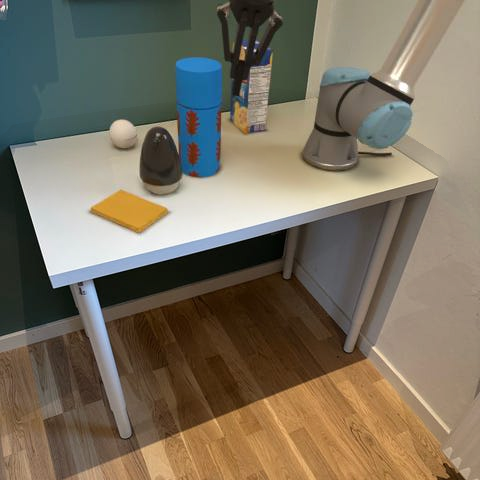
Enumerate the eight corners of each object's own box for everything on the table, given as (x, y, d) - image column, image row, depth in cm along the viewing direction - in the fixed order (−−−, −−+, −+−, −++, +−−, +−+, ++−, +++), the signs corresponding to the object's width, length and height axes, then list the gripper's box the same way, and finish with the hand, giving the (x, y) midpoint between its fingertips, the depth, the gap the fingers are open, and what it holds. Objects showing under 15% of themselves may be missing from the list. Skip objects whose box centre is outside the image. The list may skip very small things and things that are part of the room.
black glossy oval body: (136, 198, 112) (129, 135, 101) (145, 177, 119) (139, 116, 108) (179, 201, 112) (176, 139, 101) (185, 180, 119) (183, 119, 108)
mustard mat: (167, 212, 108) (167, 208, 107) (139, 233, 102) (138, 228, 101) (121, 193, 113) (120, 189, 112) (91, 212, 106) (90, 207, 106)
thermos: (212, 180, 119) (213, 75, 102) (173, 173, 121) (167, 68, 103) (225, 162, 127) (228, 61, 109) (187, 155, 129) (185, 54, 111)
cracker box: (245, 133, 140) (250, 52, 125) (229, 119, 147) (232, 40, 132) (265, 130, 143) (273, 50, 127) (249, 116, 149) (254, 39, 134)
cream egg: (118, 155, 126) (114, 128, 121) (106, 144, 131) (102, 118, 125) (151, 147, 131) (149, 121, 126) (139, 137, 135) (136, 111, 130)
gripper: (222, -26, 79) (206, 99, 100) (296, -12, 82) (265, 106, 102) (221, -47, 83) (205, 77, 103) (291, -34, 85) (263, 85, 106)
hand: (235, 91), depth 103 cm, fingers closed
